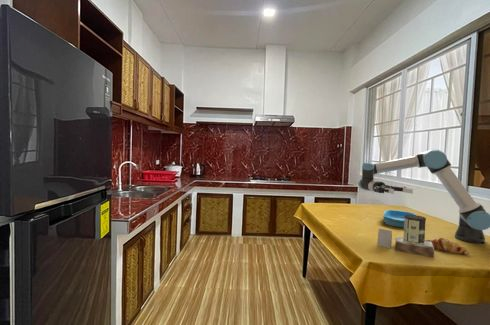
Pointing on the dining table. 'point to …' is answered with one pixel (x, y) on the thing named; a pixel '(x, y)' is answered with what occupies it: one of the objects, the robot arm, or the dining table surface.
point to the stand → (414, 247)
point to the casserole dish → (395, 217)
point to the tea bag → (384, 238)
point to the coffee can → (414, 229)
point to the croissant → (448, 246)
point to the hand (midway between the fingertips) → (403, 191)
